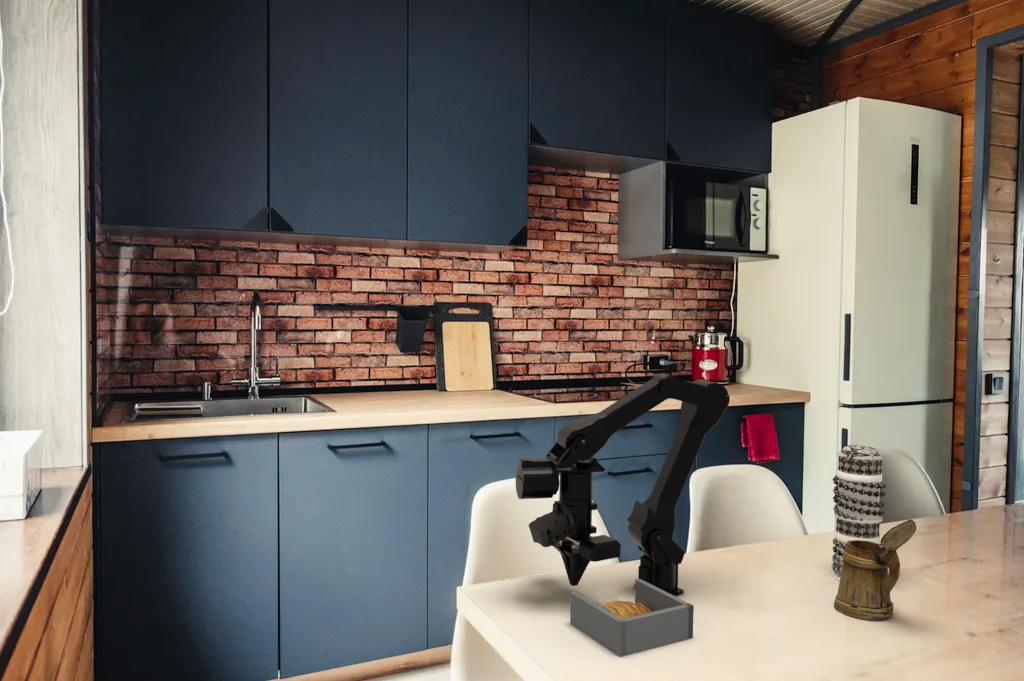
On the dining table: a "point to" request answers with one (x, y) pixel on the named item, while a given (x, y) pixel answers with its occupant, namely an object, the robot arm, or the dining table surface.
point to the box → (635, 621)
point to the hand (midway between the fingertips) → (573, 585)
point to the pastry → (626, 608)
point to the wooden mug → (871, 574)
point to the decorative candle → (856, 499)
